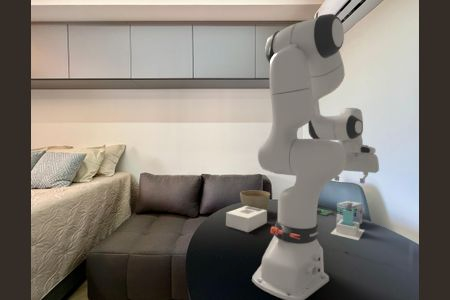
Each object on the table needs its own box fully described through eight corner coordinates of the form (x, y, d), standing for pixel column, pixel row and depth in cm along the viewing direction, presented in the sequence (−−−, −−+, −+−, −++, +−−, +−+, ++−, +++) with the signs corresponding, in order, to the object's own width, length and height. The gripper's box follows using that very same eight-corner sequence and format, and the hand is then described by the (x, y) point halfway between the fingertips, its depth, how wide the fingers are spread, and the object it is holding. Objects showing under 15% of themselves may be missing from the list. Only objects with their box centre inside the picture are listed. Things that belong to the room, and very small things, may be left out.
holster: (358, 244, 88) (358, 231, 88) (330, 237, 94) (330, 224, 94) (364, 233, 99) (364, 221, 99) (338, 227, 105) (339, 216, 105)
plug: (350, 234, 94) (351, 205, 94) (342, 232, 96) (343, 204, 96) (352, 231, 97) (353, 203, 97) (345, 229, 99) (345, 202, 99)
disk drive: (298, 214, 128) (326, 220, 117) (298, 209, 128) (326, 214, 117) (307, 210, 135) (333, 215, 125) (307, 205, 135) (333, 210, 125)
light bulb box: (350, 230, 102) (350, 206, 102) (335, 225, 108) (336, 202, 108) (362, 226, 108) (363, 203, 108) (348, 222, 114) (349, 200, 113)
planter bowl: (249, 207, 138) (249, 189, 137) (274, 212, 128) (274, 192, 128) (234, 213, 125) (234, 193, 124) (261, 219, 115) (261, 197, 115)
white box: (247, 232, 98) (248, 217, 98) (226, 225, 106) (226, 212, 106) (266, 222, 110) (266, 209, 110) (245, 217, 118) (246, 205, 118)
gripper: (321, 147, 100) (320, 179, 100) (378, 149, 87) (377, 185, 87) (325, 147, 105) (325, 178, 105) (380, 148, 92) (379, 183, 92)
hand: (349, 181), depth 96 cm, fingers open, 8 cm apart
